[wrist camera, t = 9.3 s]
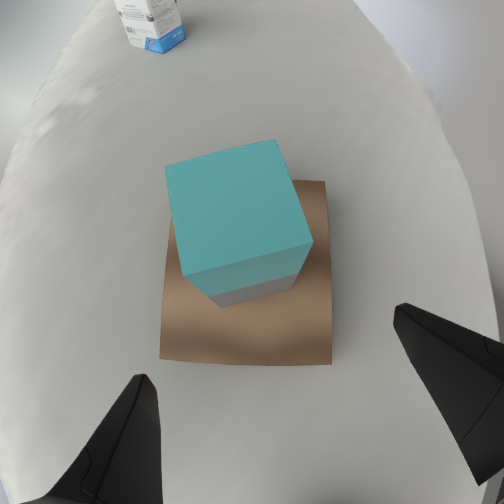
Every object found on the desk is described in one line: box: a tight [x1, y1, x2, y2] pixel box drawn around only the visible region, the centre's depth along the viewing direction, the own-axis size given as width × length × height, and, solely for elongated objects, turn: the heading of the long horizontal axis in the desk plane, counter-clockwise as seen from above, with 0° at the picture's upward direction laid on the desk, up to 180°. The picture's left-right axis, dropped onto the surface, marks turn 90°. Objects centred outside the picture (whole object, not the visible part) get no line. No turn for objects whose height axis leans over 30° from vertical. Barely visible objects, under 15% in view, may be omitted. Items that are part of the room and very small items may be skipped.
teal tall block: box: [165, 139, 313, 308], centre depth 16 cm, size 5×5×10 cm
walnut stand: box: [160, 180, 332, 366], centre depth 22 cm, size 14×12×2 cm
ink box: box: [114, 0, 185, 53], centre depth 28 cm, size 9×5×15 cm, turn 52°
